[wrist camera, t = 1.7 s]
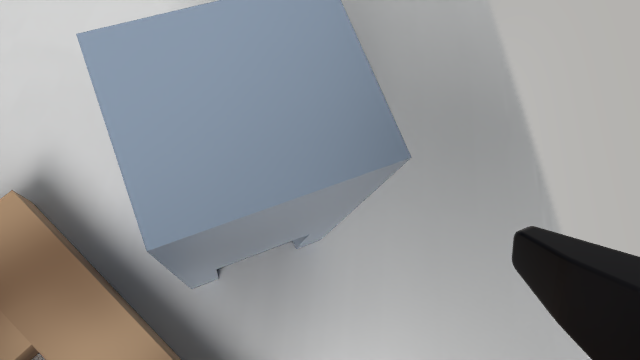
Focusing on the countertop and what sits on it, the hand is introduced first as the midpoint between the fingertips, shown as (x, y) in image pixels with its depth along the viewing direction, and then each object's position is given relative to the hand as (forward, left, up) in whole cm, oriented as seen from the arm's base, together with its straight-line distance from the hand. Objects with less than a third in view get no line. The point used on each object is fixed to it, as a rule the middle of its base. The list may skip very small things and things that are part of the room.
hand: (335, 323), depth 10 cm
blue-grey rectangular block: (+4, -3, -12) cm, 13 cm away
